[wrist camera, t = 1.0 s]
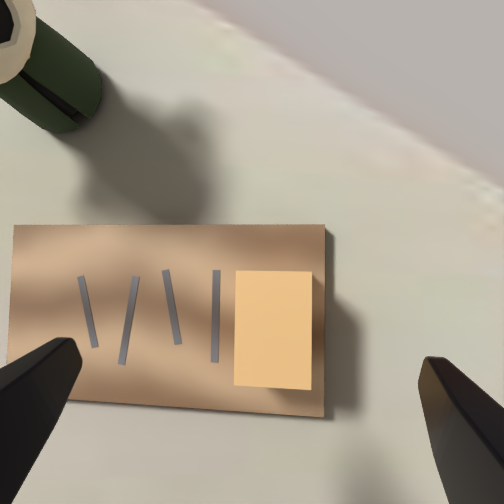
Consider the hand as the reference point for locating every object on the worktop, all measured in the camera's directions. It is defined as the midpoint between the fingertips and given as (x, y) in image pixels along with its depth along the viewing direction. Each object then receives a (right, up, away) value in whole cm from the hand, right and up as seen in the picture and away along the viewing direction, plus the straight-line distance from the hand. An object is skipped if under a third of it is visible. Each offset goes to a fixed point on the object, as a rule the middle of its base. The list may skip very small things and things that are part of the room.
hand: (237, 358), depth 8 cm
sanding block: (+2, -1, +13) cm, 13 cm away
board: (-6, -1, +15) cm, 16 cm away
